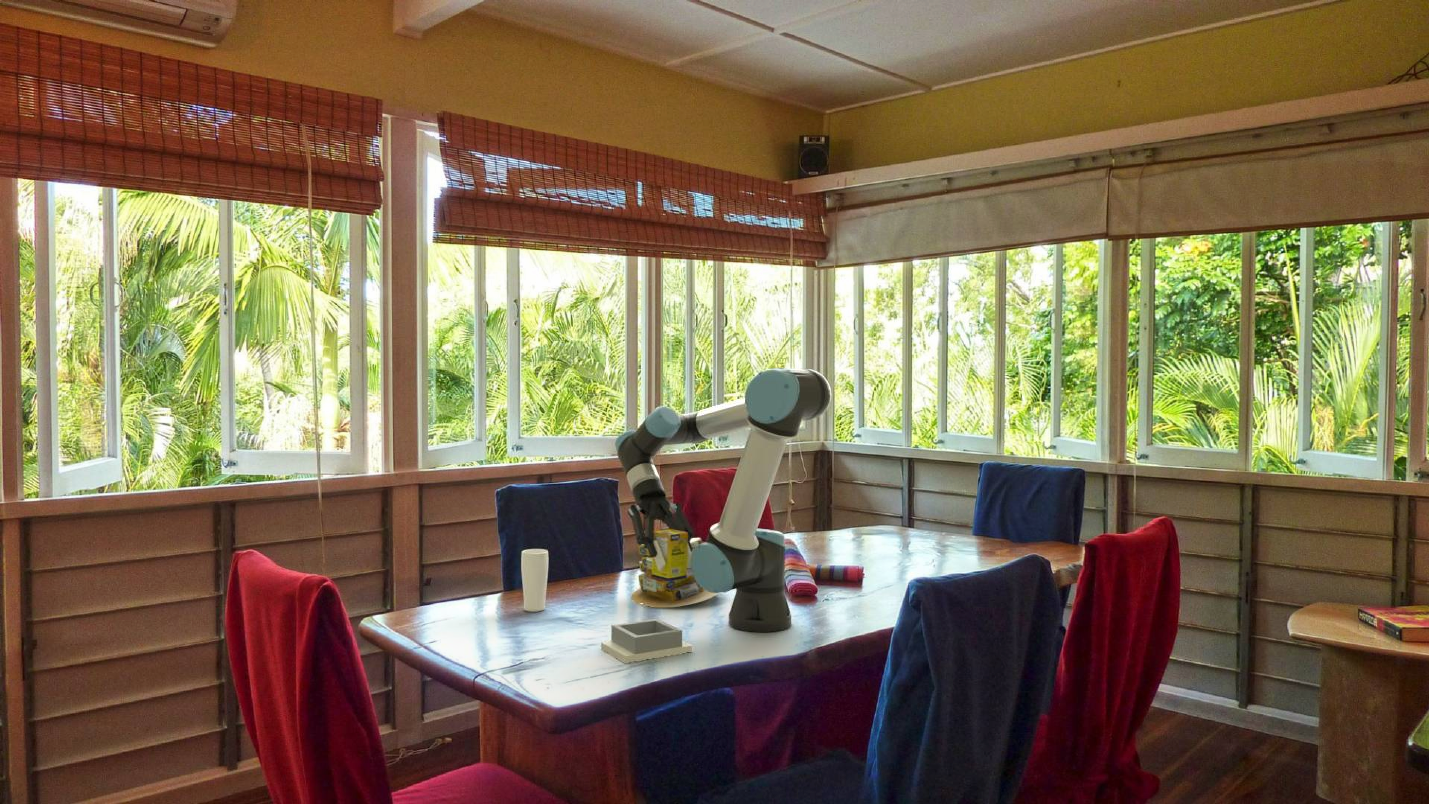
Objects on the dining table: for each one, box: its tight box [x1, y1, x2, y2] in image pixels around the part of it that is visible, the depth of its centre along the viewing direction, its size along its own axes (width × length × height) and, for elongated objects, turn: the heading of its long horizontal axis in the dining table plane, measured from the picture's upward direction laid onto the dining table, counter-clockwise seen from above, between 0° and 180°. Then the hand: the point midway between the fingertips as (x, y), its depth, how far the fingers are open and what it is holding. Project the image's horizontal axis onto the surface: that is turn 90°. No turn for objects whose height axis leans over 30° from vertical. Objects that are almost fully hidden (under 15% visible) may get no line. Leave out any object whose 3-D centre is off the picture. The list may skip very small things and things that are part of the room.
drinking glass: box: [520, 548, 549, 613], centre depth 242 cm, size 7×7×15 cm
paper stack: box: [630, 537, 719, 608], centre depth 257 cm, size 25×25×17 cm
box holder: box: [600, 618, 693, 664], centre depth 208 cm, size 16×12×5 cm
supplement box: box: [652, 528, 688, 581], centre depth 222 cm, size 6×6×11 cm
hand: (677, 566), depth 219 cm, fingers closed on supplement box, 7 cm apart
